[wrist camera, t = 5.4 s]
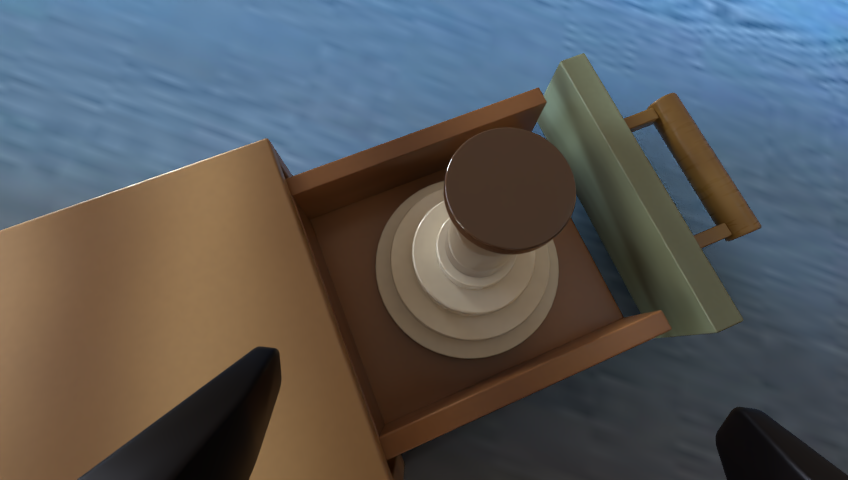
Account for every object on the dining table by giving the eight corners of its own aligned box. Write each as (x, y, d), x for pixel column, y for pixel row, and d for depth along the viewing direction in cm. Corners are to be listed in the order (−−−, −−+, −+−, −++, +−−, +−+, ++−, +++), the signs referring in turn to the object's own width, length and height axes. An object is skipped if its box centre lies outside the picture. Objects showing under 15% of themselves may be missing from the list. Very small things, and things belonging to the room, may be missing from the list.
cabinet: (306, 195, 22) (267, 136, 16) (405, 464, 19) (401, 512, 13) (-13, 313, 20) (-187, 293, 14) (37, 634, 17) (-160, 779, 11)
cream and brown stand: (556, 191, 20) (667, 60, 12) (553, 367, 18) (688, 374, 9) (387, 175, 20) (366, 31, 12) (365, 349, 18) (319, 339, 9)
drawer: (620, 82, 23) (665, 23, 19) (750, 294, 20) (835, 278, 16) (289, 205, 21) (259, 167, 17) (382, 463, 18) (372, 494, 14)
